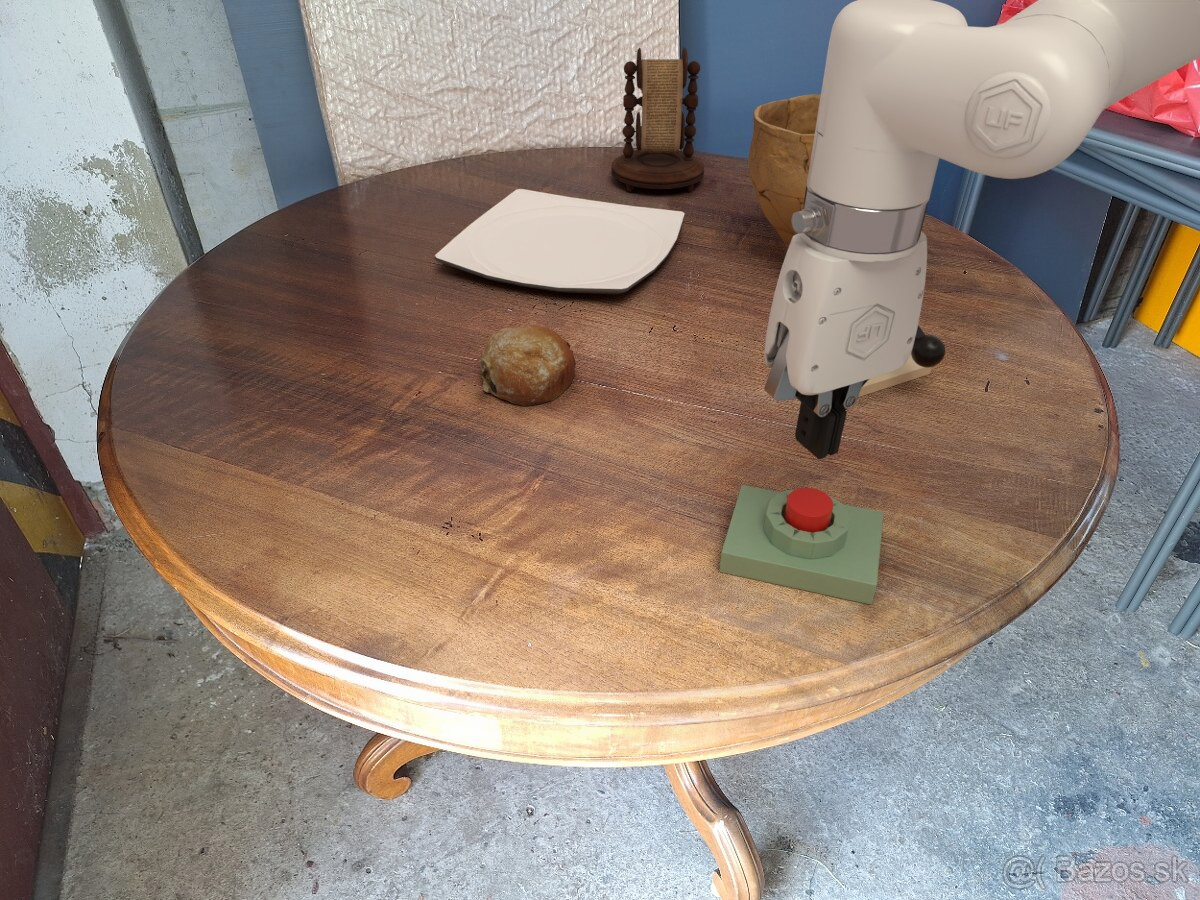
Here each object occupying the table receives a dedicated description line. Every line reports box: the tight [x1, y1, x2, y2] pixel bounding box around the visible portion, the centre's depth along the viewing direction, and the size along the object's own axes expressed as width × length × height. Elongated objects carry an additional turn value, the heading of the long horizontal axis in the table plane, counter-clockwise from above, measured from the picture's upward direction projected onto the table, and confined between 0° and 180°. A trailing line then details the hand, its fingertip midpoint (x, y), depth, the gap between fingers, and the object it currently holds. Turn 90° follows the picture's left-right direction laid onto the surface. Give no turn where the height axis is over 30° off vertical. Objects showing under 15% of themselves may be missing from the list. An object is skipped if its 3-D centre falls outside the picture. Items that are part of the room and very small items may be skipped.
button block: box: [718, 484, 885, 606], centre depth 73 cm, size 12×9×4 cm
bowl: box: [747, 93, 821, 249], centre depth 112 cm, size 21×20×20 cm
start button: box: [785, 487, 833, 533], centre depth 71 cm, size 4×4×2 cm
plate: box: [434, 188, 686, 295], centre depth 121 cm, size 29×29×3 cm
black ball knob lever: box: [911, 324, 946, 368], centre depth 91 cm, size 13×3×3 cm, turn 28°
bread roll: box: [479, 325, 577, 407], centre depth 94 cm, size 10×10×8 cm
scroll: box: [610, 46, 705, 193], centre depth 137 cm, size 15×15×20 cm
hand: (815, 446), depth 68 cm, fingers closed
